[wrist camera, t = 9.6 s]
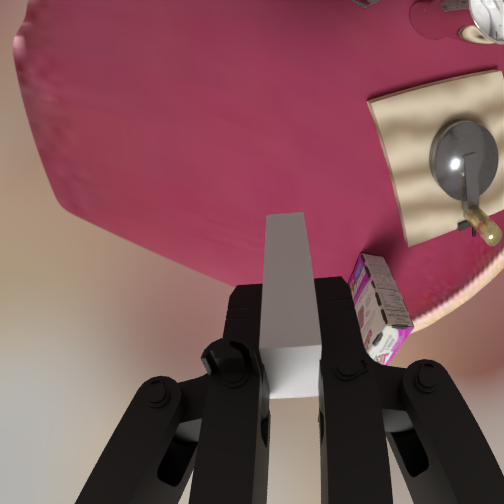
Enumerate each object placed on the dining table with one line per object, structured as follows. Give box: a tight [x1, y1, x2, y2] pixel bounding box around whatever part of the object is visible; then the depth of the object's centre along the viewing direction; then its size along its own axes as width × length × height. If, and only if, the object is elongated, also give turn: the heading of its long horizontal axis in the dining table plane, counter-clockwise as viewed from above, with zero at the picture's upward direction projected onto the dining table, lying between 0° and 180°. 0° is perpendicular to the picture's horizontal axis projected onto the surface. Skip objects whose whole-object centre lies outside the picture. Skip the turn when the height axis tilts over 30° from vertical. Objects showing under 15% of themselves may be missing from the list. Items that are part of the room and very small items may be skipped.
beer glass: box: [410, 0, 504, 44], centre depth 19 cm, size 7×7×15 cm
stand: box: [366, 70, 504, 247], centre depth 35 cm, size 24×24×3 cm
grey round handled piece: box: [429, 119, 502, 246], centre depth 32 cm, size 18×12×9 cm, turn 24°
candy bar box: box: [348, 253, 414, 365], centre depth 45 cm, size 11×5×16 cm, turn 173°
